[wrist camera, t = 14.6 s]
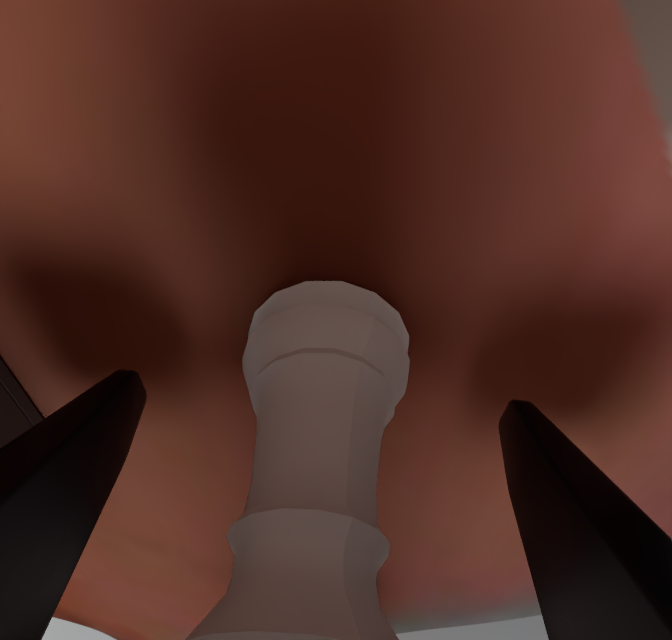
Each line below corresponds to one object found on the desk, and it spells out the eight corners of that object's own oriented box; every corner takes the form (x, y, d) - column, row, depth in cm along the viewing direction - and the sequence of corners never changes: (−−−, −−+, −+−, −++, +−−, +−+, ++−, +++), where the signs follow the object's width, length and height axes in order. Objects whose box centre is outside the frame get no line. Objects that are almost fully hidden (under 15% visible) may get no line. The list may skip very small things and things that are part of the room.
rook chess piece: (297, 237, 9) (148, 745, 3) (441, 320, 10) (568, 790, 4) (228, 351, 11) (67, 753, 5) (352, 405, 13) (342, 779, 6)
